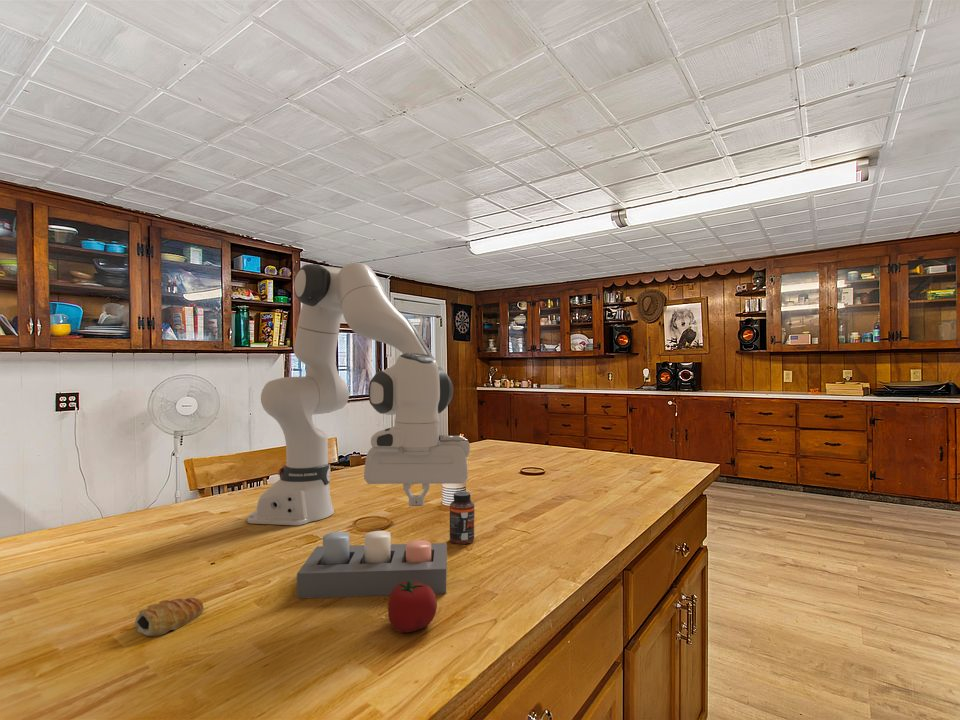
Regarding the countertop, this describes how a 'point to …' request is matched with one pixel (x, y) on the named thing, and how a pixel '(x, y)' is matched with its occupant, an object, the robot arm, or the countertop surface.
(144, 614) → the pastry
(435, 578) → the egg tray
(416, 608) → the tomato
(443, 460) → the robot arm
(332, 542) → the slate button
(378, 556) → the ivory button
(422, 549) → the pink rounded block
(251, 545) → the countertop surface
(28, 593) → the countertop surface
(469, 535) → the supplement bottle
